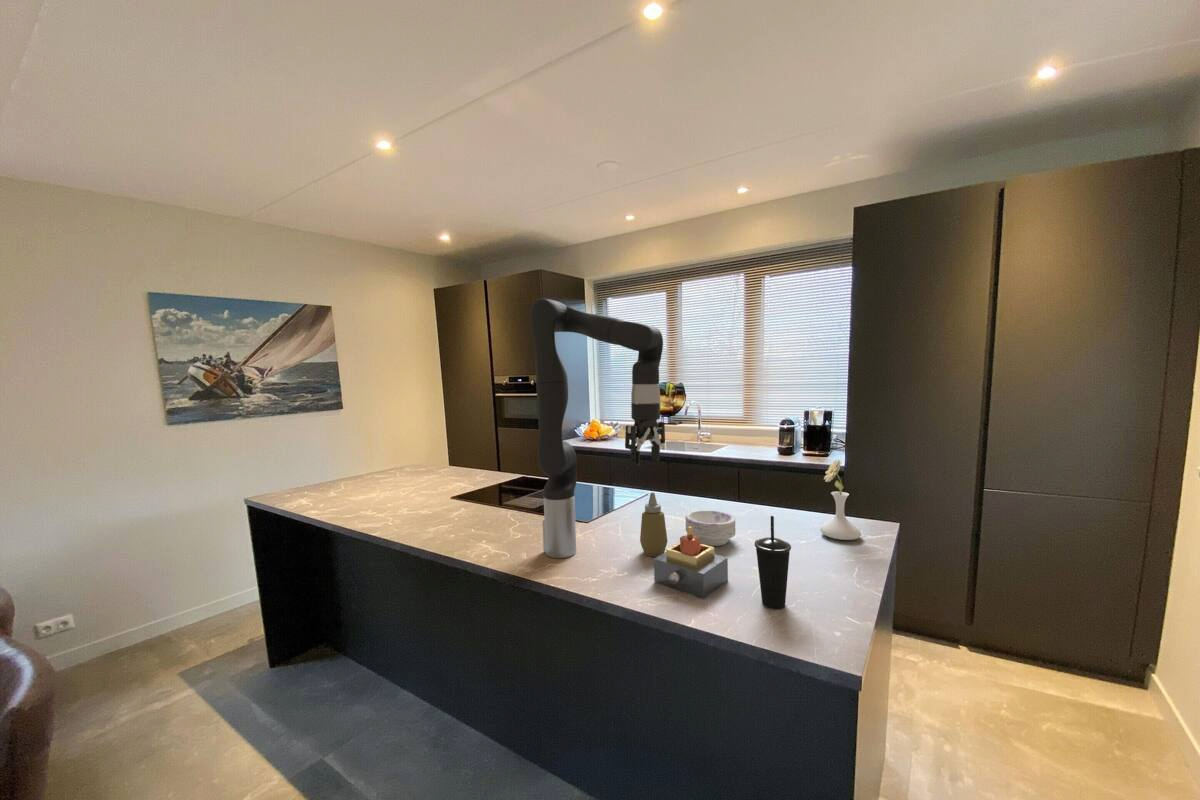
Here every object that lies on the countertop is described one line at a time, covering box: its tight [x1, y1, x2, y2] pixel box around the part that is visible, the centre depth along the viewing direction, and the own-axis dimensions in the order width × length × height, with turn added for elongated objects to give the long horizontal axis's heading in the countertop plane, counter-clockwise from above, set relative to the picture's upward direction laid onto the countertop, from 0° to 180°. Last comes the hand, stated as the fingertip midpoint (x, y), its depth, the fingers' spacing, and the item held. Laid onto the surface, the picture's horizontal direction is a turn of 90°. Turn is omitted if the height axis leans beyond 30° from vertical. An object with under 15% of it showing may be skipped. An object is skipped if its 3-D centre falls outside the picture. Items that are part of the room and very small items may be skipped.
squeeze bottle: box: [639, 492, 668, 557], centre depth 130 cm, size 8×8×18 cm
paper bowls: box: [685, 509, 736, 547], centre depth 139 cm, size 15×15×8 cm
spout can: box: [679, 526, 701, 556], centre depth 111 cm, size 5×5×13 cm
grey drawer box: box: [653, 542, 729, 600], centre depth 111 cm, size 14×14×8 cm
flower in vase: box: [819, 459, 862, 541], centre depth 138 cm, size 13×11×25 cm
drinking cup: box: [753, 515, 792, 610], centre depth 99 cm, size 8×8×20 cm
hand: (645, 462), depth 117 cm, fingers open, 8 cm apart
